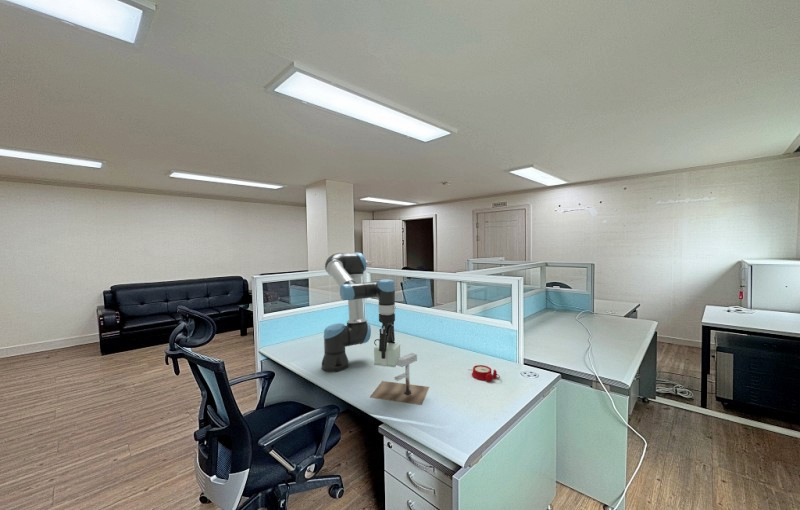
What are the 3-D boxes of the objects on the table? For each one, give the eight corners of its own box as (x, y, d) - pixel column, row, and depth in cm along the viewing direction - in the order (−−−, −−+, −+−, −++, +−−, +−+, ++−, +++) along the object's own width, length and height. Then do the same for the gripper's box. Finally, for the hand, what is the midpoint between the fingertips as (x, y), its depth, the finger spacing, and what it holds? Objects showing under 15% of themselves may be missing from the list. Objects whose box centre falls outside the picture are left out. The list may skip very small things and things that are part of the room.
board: (369, 399, 136) (369, 395, 136) (382, 382, 151) (382, 379, 151) (421, 407, 129) (421, 403, 129) (429, 388, 144) (429, 385, 144)
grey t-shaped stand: (398, 398, 133) (398, 362, 132) (394, 395, 135) (393, 360, 134) (417, 388, 141) (416, 354, 141) (412, 386, 144) (412, 352, 143)
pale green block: (374, 364, 139) (373, 347, 139) (380, 358, 147) (380, 341, 146) (395, 367, 136) (395, 350, 136) (400, 360, 144) (400, 343, 143)
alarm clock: (476, 363, 165) (501, 364, 155) (478, 374, 165) (504, 377, 154) (466, 369, 158) (491, 370, 148) (468, 381, 157) (494, 384, 147)
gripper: (387, 319, 129) (387, 371, 130) (401, 308, 149) (401, 353, 150) (370, 318, 131) (371, 369, 132) (386, 307, 151) (387, 351, 153)
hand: (387, 360), depth 141 cm, fingers closed on pale green block, 8 cm apart
